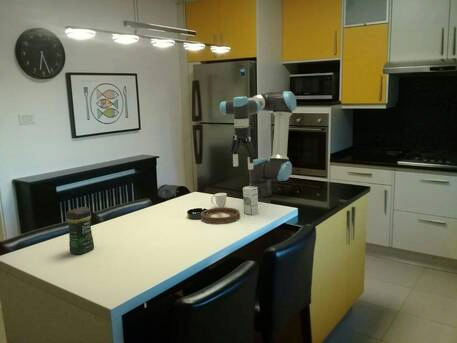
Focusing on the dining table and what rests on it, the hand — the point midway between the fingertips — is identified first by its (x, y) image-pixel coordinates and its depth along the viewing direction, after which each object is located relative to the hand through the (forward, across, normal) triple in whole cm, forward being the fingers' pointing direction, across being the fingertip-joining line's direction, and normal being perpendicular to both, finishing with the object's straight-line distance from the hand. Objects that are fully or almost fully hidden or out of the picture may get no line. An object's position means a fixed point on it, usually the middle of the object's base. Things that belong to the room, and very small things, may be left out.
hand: (243, 167), depth 212 cm
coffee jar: (+25, +1, -85) cm, 88 cm away
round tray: (+25, -1, -15) cm, 29 cm away
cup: (+25, -20, -4) cm, 32 cm away
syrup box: (+25, +2, +2) cm, 25 cm away
